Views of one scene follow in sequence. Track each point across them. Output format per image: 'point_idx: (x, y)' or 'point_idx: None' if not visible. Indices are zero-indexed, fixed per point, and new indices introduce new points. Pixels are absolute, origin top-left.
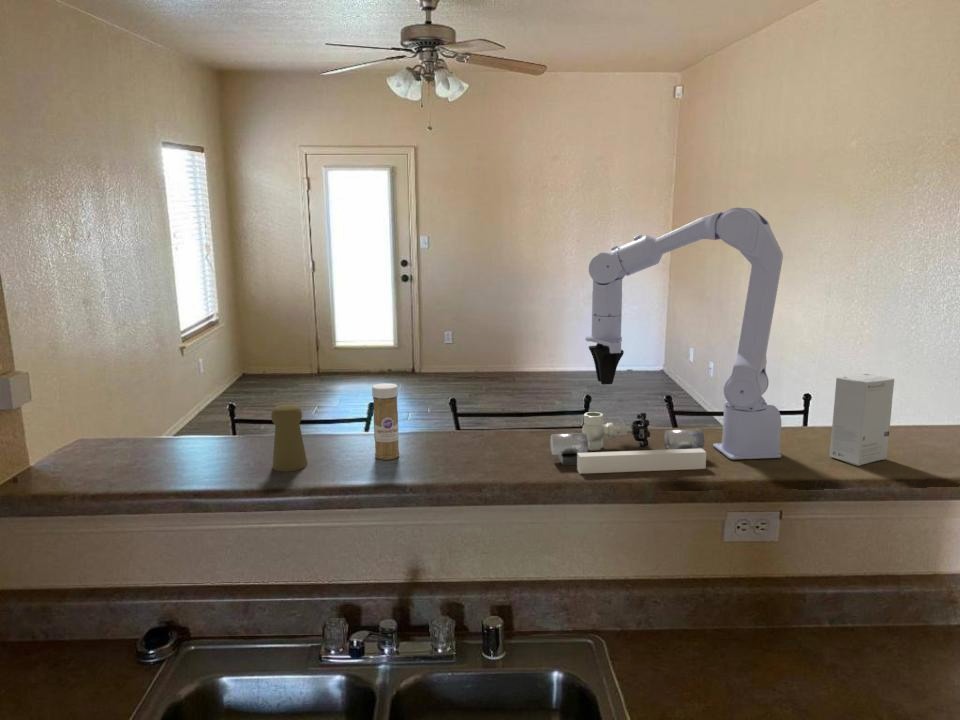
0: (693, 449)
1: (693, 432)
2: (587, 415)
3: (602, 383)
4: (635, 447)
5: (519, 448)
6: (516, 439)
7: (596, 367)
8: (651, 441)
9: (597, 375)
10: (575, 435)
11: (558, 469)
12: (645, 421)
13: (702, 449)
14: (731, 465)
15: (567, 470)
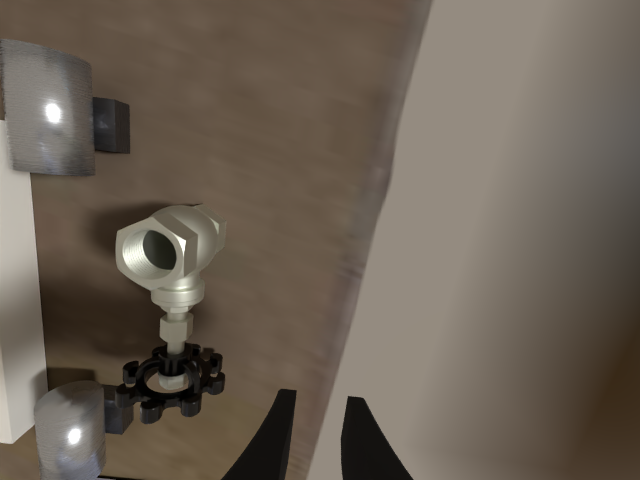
0: (3, 423)
1: (42, 471)
2: (134, 226)
3: (278, 393)
4: None
5: (225, 6)
6: (317, 22)
7: (363, 452)
8: (225, 383)
9: (352, 414)
10: (11, 129)
11: None
12: (115, 395)
13: (4, 441)
14: None
15: None
